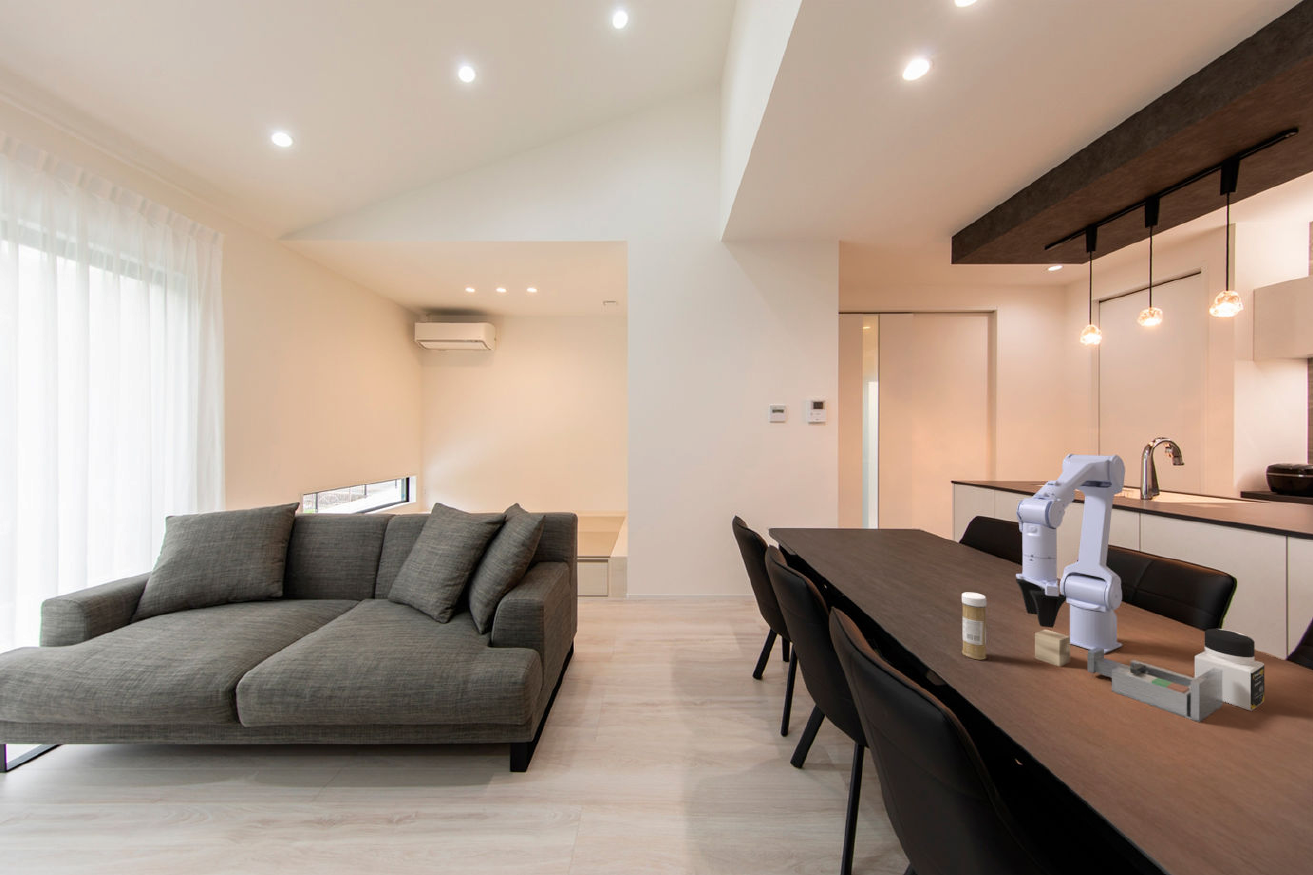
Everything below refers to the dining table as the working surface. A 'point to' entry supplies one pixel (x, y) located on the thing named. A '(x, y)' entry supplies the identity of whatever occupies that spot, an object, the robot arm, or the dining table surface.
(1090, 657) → the grey l-shaped piece
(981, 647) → the sprinkles bottle
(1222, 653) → the medicine bottle
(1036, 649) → the block
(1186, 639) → the dining table surface
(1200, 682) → the gauge housing
